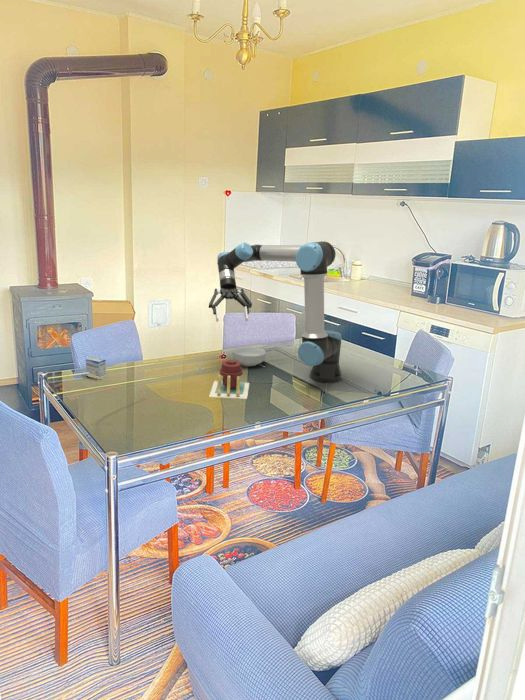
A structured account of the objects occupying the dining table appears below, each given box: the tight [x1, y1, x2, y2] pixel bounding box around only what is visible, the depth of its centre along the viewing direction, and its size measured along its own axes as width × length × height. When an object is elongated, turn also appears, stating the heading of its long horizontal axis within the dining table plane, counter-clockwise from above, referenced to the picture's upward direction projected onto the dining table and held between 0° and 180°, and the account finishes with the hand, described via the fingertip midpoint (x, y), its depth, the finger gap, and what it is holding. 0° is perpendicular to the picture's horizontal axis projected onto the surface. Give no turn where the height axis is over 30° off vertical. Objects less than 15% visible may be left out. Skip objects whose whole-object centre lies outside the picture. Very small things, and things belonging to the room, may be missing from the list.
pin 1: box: [217, 374, 222, 396], centre depth 216 cm, size 1×1×9 cm
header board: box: [208, 380, 250, 400], centre depth 224 cm, size 16×19×1 cm
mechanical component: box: [219, 359, 244, 390], centre depth 224 cm, size 12×10×10 cm
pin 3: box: [236, 376, 241, 397], centre depth 215 cm, size 1×1×9 cm
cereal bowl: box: [231, 346, 267, 367], centre depth 260 cm, size 17×17×7 cm
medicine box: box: [85, 356, 107, 377], centre depth 233 cm, size 8×4×9 cm, turn 68°
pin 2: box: [227, 375, 231, 397], centre depth 215 cm, size 1×1×9 cm
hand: (232, 319), depth 234 cm, fingers open, 13 cm apart
